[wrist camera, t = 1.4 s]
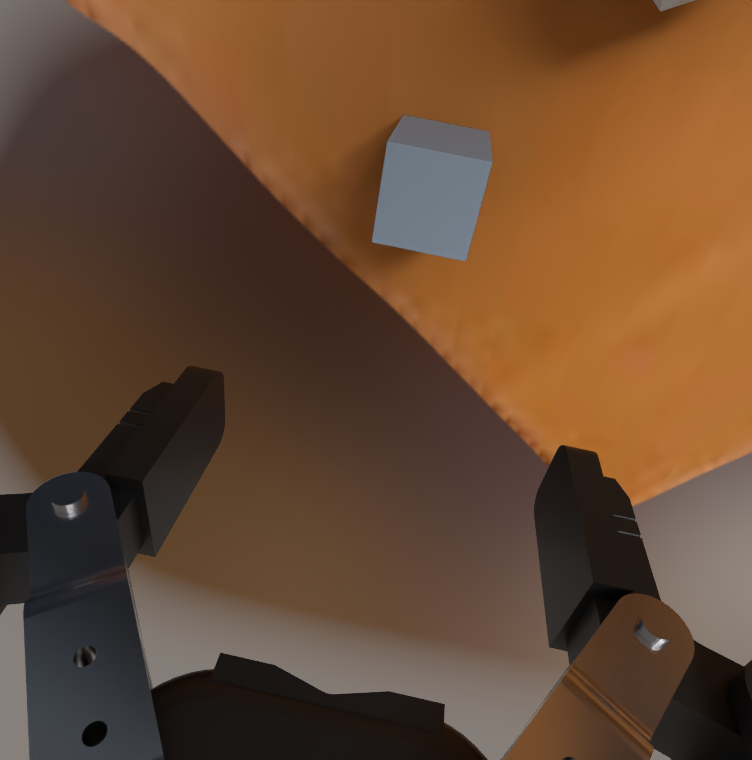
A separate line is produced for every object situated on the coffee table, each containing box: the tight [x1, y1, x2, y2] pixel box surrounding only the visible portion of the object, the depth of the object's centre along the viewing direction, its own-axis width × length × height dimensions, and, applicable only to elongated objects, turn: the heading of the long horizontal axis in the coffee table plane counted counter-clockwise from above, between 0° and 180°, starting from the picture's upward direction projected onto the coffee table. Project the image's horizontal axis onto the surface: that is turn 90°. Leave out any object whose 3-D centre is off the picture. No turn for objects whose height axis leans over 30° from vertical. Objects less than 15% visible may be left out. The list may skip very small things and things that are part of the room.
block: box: [372, 115, 492, 261], centre depth 29 cm, size 5×5×7 cm
